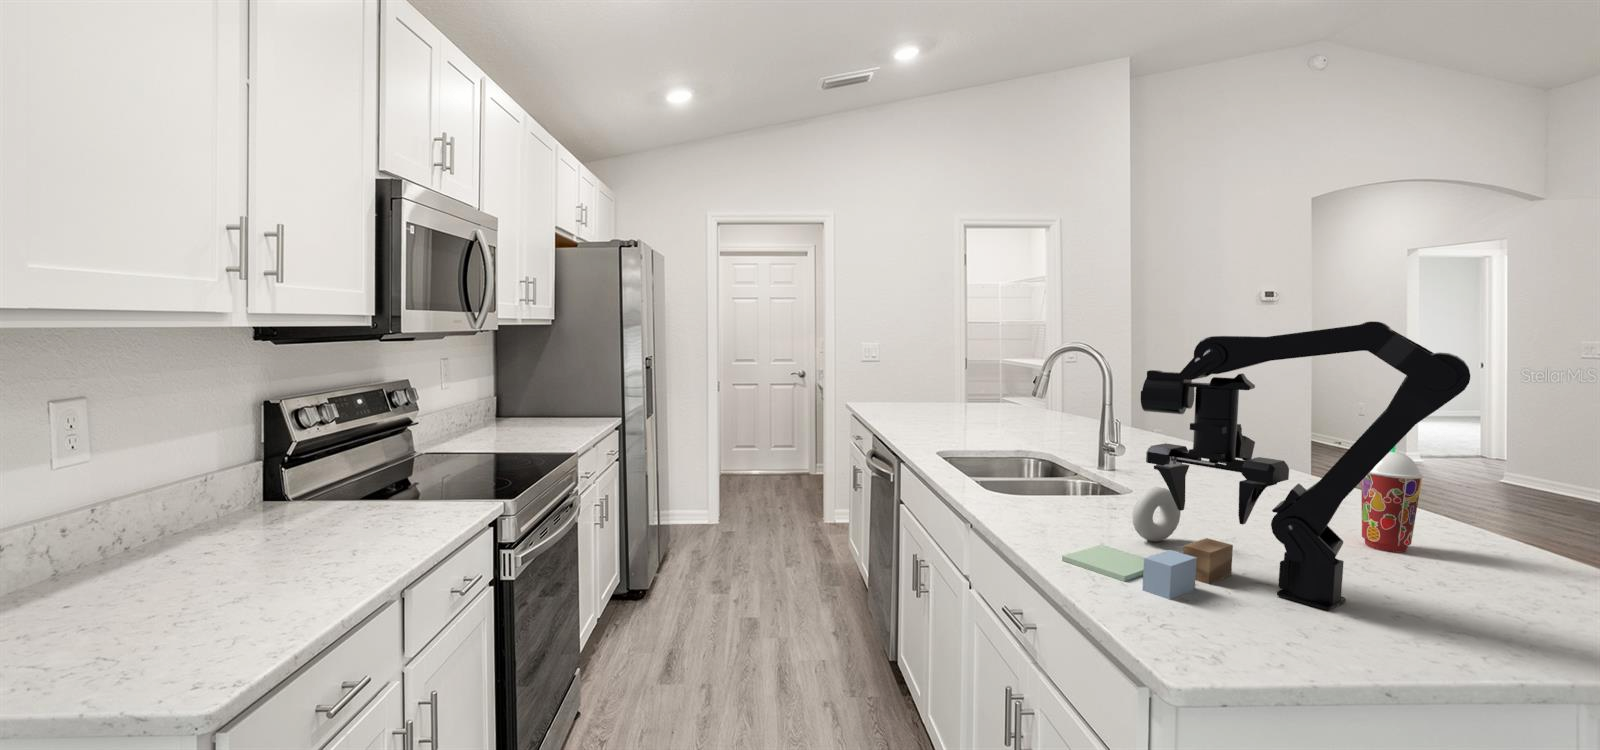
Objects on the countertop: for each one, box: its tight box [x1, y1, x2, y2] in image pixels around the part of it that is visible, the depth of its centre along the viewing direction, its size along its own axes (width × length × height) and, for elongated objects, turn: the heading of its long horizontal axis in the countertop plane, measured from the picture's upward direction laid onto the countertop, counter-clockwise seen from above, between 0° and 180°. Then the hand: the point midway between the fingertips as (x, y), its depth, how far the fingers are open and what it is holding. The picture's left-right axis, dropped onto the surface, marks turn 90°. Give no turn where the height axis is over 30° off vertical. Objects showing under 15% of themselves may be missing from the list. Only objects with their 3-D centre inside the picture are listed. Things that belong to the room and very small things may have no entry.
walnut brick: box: [1182, 537, 1234, 585], centre depth 110 cm, size 4×7×5 cm, turn 124°
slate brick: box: [1141, 549, 1197, 600], centre depth 104 cm, size 4×7×5 cm, turn 124°
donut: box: [1131, 486, 1181, 543], centre depth 127 cm, size 10×4×10 cm, turn 111°
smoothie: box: [1361, 444, 1424, 553], centre depth 125 cm, size 8×8×20 cm
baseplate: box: [1061, 544, 1146, 582], centre depth 115 cm, size 11×11×1 cm
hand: (1210, 516), depth 110 cm, fingers open, 9 cm apart
